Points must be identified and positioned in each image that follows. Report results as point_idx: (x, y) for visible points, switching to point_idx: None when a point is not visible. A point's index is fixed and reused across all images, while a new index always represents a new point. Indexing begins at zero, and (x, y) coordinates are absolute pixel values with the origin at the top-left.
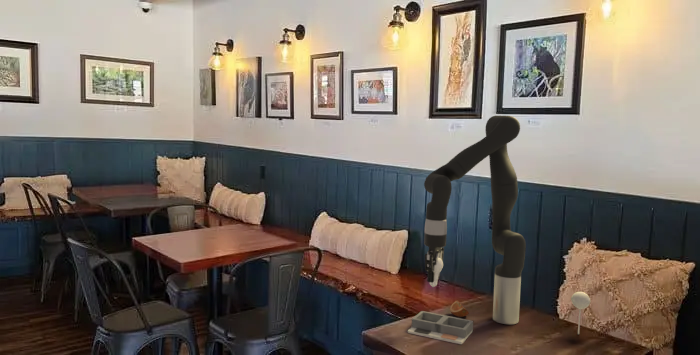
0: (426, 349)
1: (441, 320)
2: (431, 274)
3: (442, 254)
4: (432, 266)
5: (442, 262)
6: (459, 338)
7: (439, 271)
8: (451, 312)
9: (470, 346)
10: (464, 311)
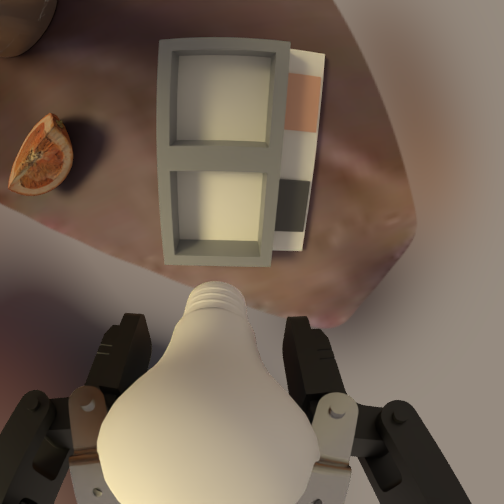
0: (402, 159)
1: (228, 160)
2: (339, 380)
3: (8, 488)
4: (415, 446)
5: (180, 468)
6: (294, 66)
7: (240, 367)
8: (65, 175)
9: (323, 27)
10: (60, 122)
